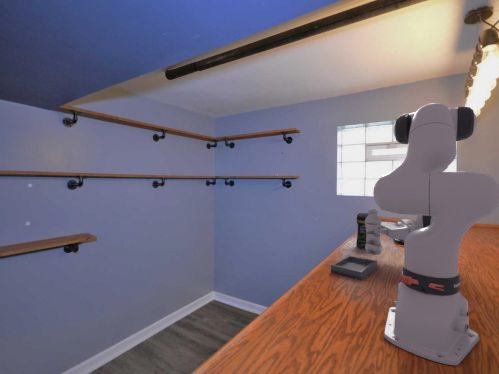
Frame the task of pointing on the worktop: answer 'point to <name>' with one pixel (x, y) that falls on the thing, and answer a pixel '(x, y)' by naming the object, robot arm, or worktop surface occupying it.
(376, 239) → the plastic bottle
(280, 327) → the worktop surface
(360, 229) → the coffee jar
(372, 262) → the serving tray
